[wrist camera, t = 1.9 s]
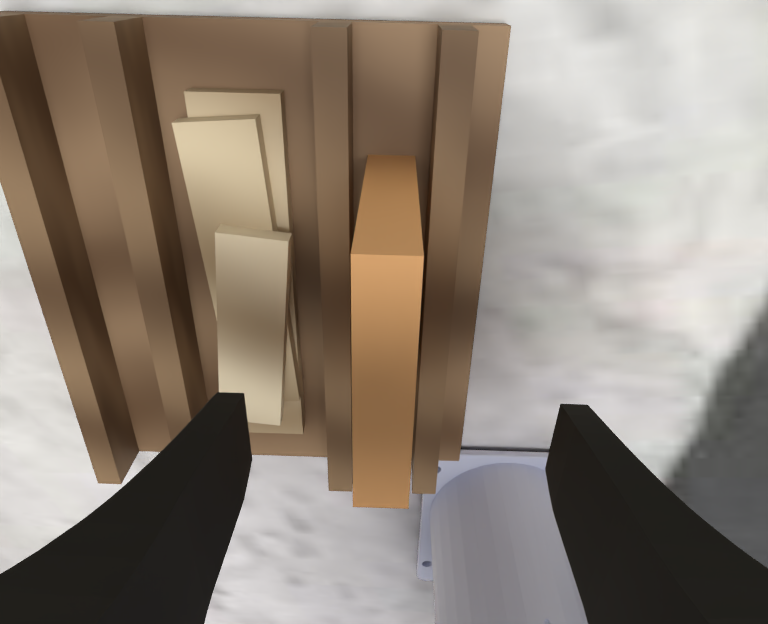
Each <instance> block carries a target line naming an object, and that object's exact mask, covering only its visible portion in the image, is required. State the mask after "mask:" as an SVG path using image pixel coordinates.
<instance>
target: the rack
mask: <svg viewBox="0 0 768 624" xmlns="http://www.w3.org/2000/svg"><path fill="white" fill-rule="evenodd" d="M510 30H511V26H510V25H508V24H504V23H464V22H423V21H383V20H343V19H303V18H263V17H222V16H182V15H142V14H102V13H62V12H21V11H0V182H1V185H2V188H3V191H4V194H5V198H6V201H7V204H8V207H9V210H10V213H11V216H12V219H13V222H14V225H15V228H16V231H17V235H18V238H19V241H20V244H21V247H22V250H23V253H24V256H25V259H26V262H27V265H28V268H29V271H30V275H31V278H32V281H33V284H34V287H35V290H36V293H37V296H38V299H39V302H40V305H41V308H42V312H43V315H44V318H45V321H46V324H47V327H48V330H49V333H50V336H51V339H52V342H53V345H54V349H55V352H56V355H57V358H58V361H59V364H60V367H61V370H62V373H63V376H64V379H65V382H66V385H67V389H68V392H69V395H70V398H71V401H72V404H73V407H74V410H75V413H76V416H77V419H78V422H79V426H80V429H81V432H82V435H83V438H84V441H85V444H86V447H87V450H88V453H89V456H90V459H91V463H92V466H93V469H94V472H95V475H96V478H97V481H98V483H106V484H121V483H122V482H123V480H124V478H125V476H126V474H127V472H128V471H129V469H130V467H131V465H132V463H133V461H134V460H135V458H136V456H137V454H138V452H139V451H156V452H161V451H162V450H163V449H164V448H165V447H166V446H167V445H168V444H169V443H170V442H171V441H172V440H173V439H174V438H175V437H176V436H177V435H178V434H179V433H180V432H181V430H182V429H183V428H184V427H185V426H186V425H187V424H188V423H189V422H190V421H191V420H192V419H193V418H194V416H195V415H196V414H197V413H198V412H199V411H200V410H201V409H202V408H203V407H204V405H205V404H206V403H207V402H208V401H209V400H210V399H211V398H212V397H213V396H214V395H215V394H216V393H217V392H219V377H218V337H217V319H216V315H215V310H214V306H213V301H212V297H211V293H210V288H209V284H208V280H207V275H206V271H205V267H204V262H203V258H202V253H201V249H200V245H199V240H198V236H197V232H196V227H195V223H194V218H193V214H192V210H191V205H190V201H189V197H188V192H187V188H186V184H185V179H184V175H183V170H182V166H181V162H180V157H179V153H178V149H177V144H176V140H175V135H174V131H173V127H172V122H174V121H175V120H177V119H178V118H188V116H187V109H186V102H185V95H184V91H186V90H187V89H189V88H226V89H265V90H284V95H285V111H286V127H287V143H288V158H289V174H290V190H291V206H292V222H293V237H294V253H295V269H296V285H297V300H298V316H299V332H300V348H301V363H302V379H303V395H304V411H305V427H304V432H303V434H284V433H252V432H249V437H250V445H251V453H252V455H281V456H313V457H327V458H328V483H329V491H352V485H353V451H352V345H351V249H352V243H353V238H354V232H355V226H356V220H357V214H358V209H359V203H360V197H361V191H362V186H363V180H364V174H365V168H366V162H367V157H368V155H401V156H415V160H416V171H417V183H418V194H419V205H420V217H421V228H422V240H423V251H424V263H423V279H422V296H421V312H420V328H419V344H418V361H417V377H416V393H415V410H414V426H413V442H412V458H411V464H412V493H415V494H435V493H436V483H437V472H438V462H439V461H459V458H460V450H461V441H462V433H463V425H464V416H465V408H466V399H467V391H468V383H469V374H470V366H471V357H472V349H473V341H474V332H475V324H476V315H477V307H478V299H479V290H480V282H481V273H482V265H483V257H484V248H485V240H486V231H487V223H488V215H489V206H490V198H491V189H492V181H493V173H494V164H495V156H496V147H497V139H498V131H499V122H500V114H501V105H502V97H503V89H504V80H505V72H506V63H507V55H508V47H509V38H510Z"/></svg>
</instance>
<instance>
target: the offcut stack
mask: <svg viewBox="0 0 768 624" xmlns="http://www.w3.org/2000/svg"><path fill="white" fill-rule="evenodd" d="M184 95H185V102H186V109H187V116H188V118H178V119H177V120H175V121H174V122H172V127H173V131H174V135H175V140H176V144H177V149H178V153H179V157H180V162H181V166H182V170H183V175H184V179H185V184H186V188H187V192H188V197H189V201H190V205H191V210H192V214H193V218H194V223H195V227H196V232H197V236H198V240H199V245H200V249H201V253H202V258H203V262H204V267H205V271H206V275H207V280H208V284H209V288H210V293H211V297H212V301H213V306H214V310H215V315H216V319H217V337H218V377H219V392H228V393H244V396H245V404H246V412H247V420H248V428H249V432H252V433H284V434H303V432H304V427H305V411H304V395H303V379H302V363H301V348H300V332H299V316H298V300H297V285H296V269H295V253H294V237H293V222H292V206H291V190H290V174H289V158H288V143H287V127H286V111H285V95H284V90H265V89H226V88H189V89H187V90H186V91H184Z"/></svg>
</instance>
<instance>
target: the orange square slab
mask: <svg viewBox="0 0 768 624" xmlns="http://www.w3.org/2000/svg"><path fill="white" fill-rule="evenodd" d="M423 263H424V251H423V240H422V228H421V217H420V205H419V194H418V183H417V171H416V160H415V156H401V155H368V157H367V162H366V168H365V174H364V180H363V186H362V191H361V197H360V203H359V209H358V214H357V220H356V226H355V232H354V238H353V243H352V249H351V345H352V451H353V507H373V508H403V509H408V507H409V491H410V475H411V458H412V442H413V426H414V410H415V393H416V377H417V361H418V344H419V328H420V312H421V296H422V279H423Z"/></svg>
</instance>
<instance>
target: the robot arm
mask: <svg viewBox="0 0 768 624" xmlns="http://www.w3.org/2000/svg"><path fill="white" fill-rule="evenodd" d="M251 462H252V453H251V445H250V437H249V428H248V420H247V412H246V404H245V396H244V393H228V392H217V393H216V394H215V395H214V396H213V397H212V398H211V399H210V400H209V401H208V402H207V403H206V404H205V405H204V407H203V408H202V409H201V410H200V411H199V412H198V413H197V414H196V415H195V416H194V418H193V419H192V420H191V421H190V422H189V423H188V424H187V425H186V426H185V427H184V428H183V429H182V430H181V432H180V433H179V434H178V435H177V436H176V437H175V438H174V439H173V440H172V441H171V442H170V443H169V444H168V445H167V446H166V447H165V448H164V449H163V450H162V451H161V452H160V453H159V454H158V455H157V456H156V457H155V458H154V459H153V460H152V461H151V462H150V463H149V464H148V465H146V466H145V467H144V468H143V469H142V470H141V471H140V472H139V473H138V474H137V475H136V476H135V477H133V478H132V479H131V480H130V481H129V482H128V483H127V484H126V485H125V486H124V487H122V488H121V489H120V490H119V491H118V492H117V493H115V494H114V495H113V496H112V497H111V498H110V499H108V500H107V501H106V502H105V503H103V504H102V505H101V506H100V507H98V508H97V509H96V510H95V511H93V512H92V513H91V514H90V515H88V516H87V517H86V518H84V519H83V520H82V521H80V522H79V523H78V524H76V525H75V526H73V527H72V528H70V529H69V530H67V531H66V532H65V533H63V534H62V535H60V536H59V537H57V538H56V539H54V540H53V541H52V542H50V543H49V544H47V545H46V546H44V547H43V548H41V549H40V550H39V551H37V552H35V553H34V554H32V555H31V556H29V557H28V558H26V559H24V560H23V561H21V562H20V563H18V564H16V565H15V566H13V567H12V568H10V569H8V570H6V571H5V572H3V573H1V574H0V624H204V622H205V618H206V614H207V610H208V606H209V603H210V600H211V596H212V593H213V590H214V587H215V584H216V581H217V578H218V575H219V572H220V569H221V566H222V563H223V560H224V557H225V554H226V552H227V549H228V546H229V543H230V540H231V537H232V534H233V531H234V528H235V525H236V522H237V519H238V516H239V513H240V510H241V507H242V504H243V501H244V496H245V492H246V487H247V483H248V478H249V473H250V468H251ZM438 466H439V467H438V472H437V483H436V493H435V494H422V505H421V518H420V531H419V544H418V557H417V577H418V578H419V579H421V580H424V581H433V586H434V604H435V622H436V624H768V568H766V567H765V566H763V565H762V564H761V563H759V562H758V561H756V560H755V559H753V558H752V557H751V556H749V555H748V554H747V553H745V552H744V551H743V550H741V549H740V548H738V547H737V546H736V545H734V544H733V543H732V542H731V541H729V540H728V539H727V538H726V537H724V536H723V535H722V534H721V533H719V532H718V531H717V530H716V529H714V528H713V527H712V526H711V525H709V524H708V523H707V522H706V521H704V520H703V519H702V518H701V517H700V516H698V515H697V514H696V513H695V512H694V511H693V510H691V509H690V508H689V507H688V506H687V505H686V504H685V503H684V502H683V501H681V500H680V499H679V498H678V497H677V496H676V495H675V494H674V493H673V492H672V491H670V490H669V489H668V488H667V487H666V486H665V485H664V484H663V483H662V482H661V481H660V480H659V479H658V478H657V477H656V476H655V475H654V474H653V473H652V472H651V471H650V470H649V469H648V468H647V467H646V466H645V465H644V464H643V463H642V462H641V461H640V460H639V459H638V458H637V457H636V456H635V455H634V454H633V453H632V452H631V451H630V450H629V449H628V448H627V447H626V446H625V445H624V444H623V442H622V441H621V440H620V439H619V438H618V437H617V436H616V435H615V434H614V433H613V432H612V431H611V430H610V429H609V427H608V426H607V425H606V424H605V423H604V422H603V421H602V420H601V419H600V418H599V417H598V415H597V414H596V413H595V412H594V411H593V410H592V409H591V408H590V407H589V406H588V405H577V404H560V408H559V413H558V417H557V421H556V425H555V429H554V433H553V438H552V442H551V446H550V450H549V452H519V451H488V450H460V458H459V461H439V462H438Z"/></svg>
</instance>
